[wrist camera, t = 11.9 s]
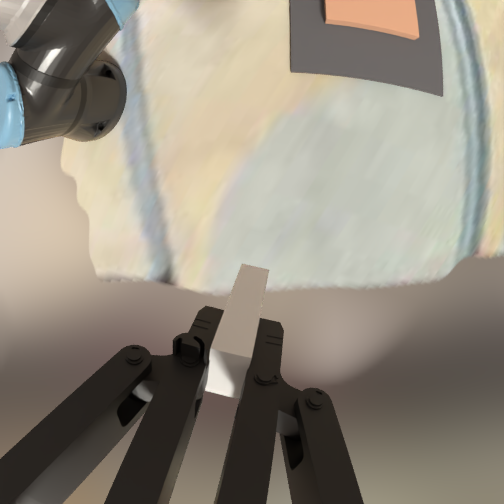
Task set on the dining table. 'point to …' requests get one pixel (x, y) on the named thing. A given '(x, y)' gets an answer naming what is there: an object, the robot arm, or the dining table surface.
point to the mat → (367, 49)
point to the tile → (375, 15)
